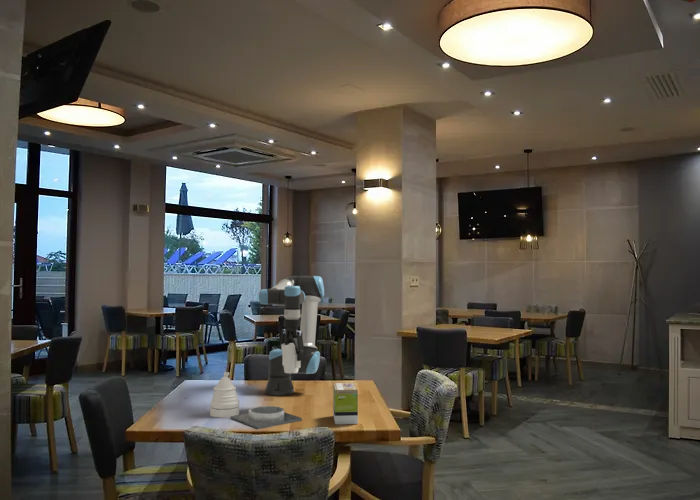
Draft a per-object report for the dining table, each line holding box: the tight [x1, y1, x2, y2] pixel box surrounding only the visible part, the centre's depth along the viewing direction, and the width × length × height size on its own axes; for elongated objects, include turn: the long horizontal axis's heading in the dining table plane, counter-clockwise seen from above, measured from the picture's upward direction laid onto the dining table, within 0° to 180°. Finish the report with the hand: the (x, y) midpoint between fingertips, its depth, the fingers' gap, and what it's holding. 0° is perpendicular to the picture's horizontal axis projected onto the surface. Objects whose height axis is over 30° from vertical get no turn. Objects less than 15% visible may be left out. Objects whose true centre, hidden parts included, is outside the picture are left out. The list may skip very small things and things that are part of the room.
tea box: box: [332, 382, 359, 425], centre depth 246 cm, size 15×10×15 cm, turn 5°
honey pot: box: [209, 371, 240, 418], centre depth 255 cm, size 13×13×18 cm
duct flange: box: [230, 405, 303, 430], centre depth 245 cm, size 22×22×4 cm
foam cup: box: [281, 342, 299, 374], centre depth 267 cm, size 10×9×13 cm
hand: (291, 366), depth 267 cm, fingers closed on foam cup, 9 cm apart
